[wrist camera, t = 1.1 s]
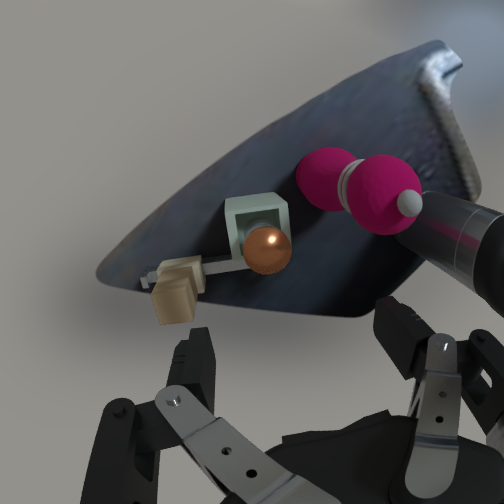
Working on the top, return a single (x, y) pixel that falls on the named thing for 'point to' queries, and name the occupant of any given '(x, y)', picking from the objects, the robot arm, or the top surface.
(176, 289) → the carriage
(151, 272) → the rail
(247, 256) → the plunger
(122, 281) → the top surface
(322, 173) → the pepper mill
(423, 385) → the robot arm
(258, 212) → the cabinet
